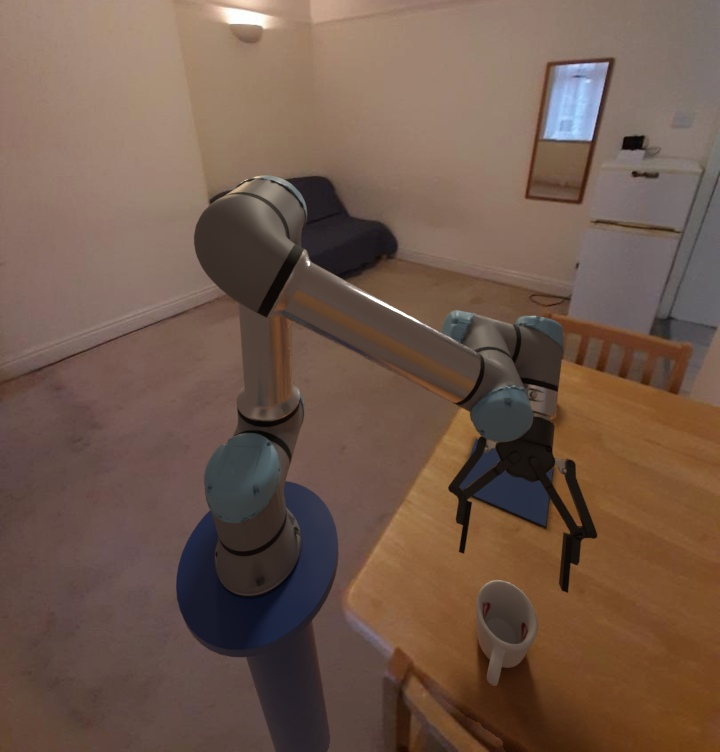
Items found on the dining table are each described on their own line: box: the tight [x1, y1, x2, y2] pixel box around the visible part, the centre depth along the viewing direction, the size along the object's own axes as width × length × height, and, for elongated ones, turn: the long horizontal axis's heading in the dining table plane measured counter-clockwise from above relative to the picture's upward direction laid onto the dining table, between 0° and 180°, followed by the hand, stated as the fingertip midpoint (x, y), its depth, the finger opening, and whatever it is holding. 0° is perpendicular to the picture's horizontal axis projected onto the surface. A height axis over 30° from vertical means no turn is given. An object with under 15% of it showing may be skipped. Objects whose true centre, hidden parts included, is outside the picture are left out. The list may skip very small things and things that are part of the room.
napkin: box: [459, 438, 554, 528], centre depth 82 cm, size 16×14×1 cm
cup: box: [475, 579, 539, 687], centre depth 55 cm, size 11×8×8 cm
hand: (510, 568), depth 57 cm, fingers open, 13 cm apart
